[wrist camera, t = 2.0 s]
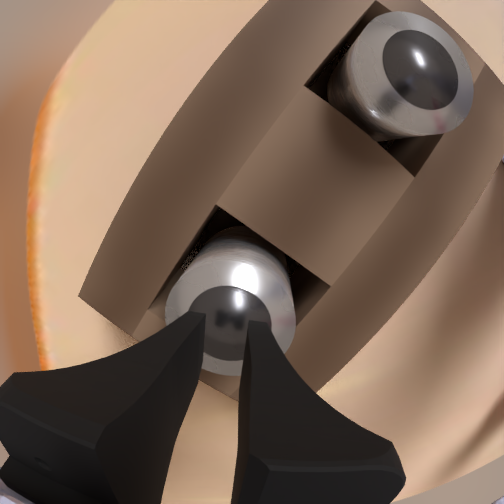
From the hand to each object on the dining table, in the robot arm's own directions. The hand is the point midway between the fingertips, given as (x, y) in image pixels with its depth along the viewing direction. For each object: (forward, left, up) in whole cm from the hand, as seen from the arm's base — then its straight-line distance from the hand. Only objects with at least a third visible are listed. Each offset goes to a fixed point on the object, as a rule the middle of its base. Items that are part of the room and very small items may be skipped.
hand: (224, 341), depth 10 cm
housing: (0, -6, -9) cm, 11 cm away
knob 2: (0, -12, -7) cm, 14 cm away
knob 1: (0, 0, -7) cm, 7 cm away
